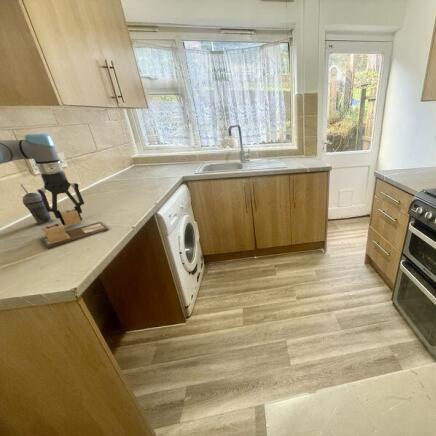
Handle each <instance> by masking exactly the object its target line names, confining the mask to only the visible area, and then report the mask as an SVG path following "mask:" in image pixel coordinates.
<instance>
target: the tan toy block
mask: <svg viewBox="0 0 436 436" xmlns="http://www.w3.org/2000/svg"><path fill="white" fill-rule="evenodd" d="M41 228H42V230H43V232H44V235H45V237H47V238H48V240H49V241H50V243H52V242H56V241H59V240H62V239H66V238H68V236H67V234H66V231H67V230H65V227H64V225H63V224H62V223H61V222H55V223H52V224H48V225H45V226H42V227H41Z"/></svg>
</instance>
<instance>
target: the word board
mask: <svg viewBox="0 0 436 436" xmlns="http://www.w3.org/2000/svg"><path fill="white" fill-rule="evenodd" d="M65 231H66V234H67V236H68V238H66V239H62V240H59V241H56V242H52V243H50V241H49V240H48V238H47V236H45V237H42V241H43V243H44V244H45V246H46V247H47V249H48V250H51V249H55V248H57V247H60V246H63V245H66V244H69V243H73V242H76V241H79V240H82V239H85V238H87V237H91V236H94V235H97V234H100V233H104V232H108V231H109V229H108V227H107V226H105V225H104V224H103V223H102V222H100V221H98V222H95V223H91V224H87V225H84V226H80V227H77V228H73V229H70V230H65Z"/></svg>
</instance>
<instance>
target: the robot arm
mask: <svg viewBox="0 0 436 436" xmlns="http://www.w3.org/2000/svg"><path fill="white" fill-rule="evenodd" d="M19 160H20V161H21V160H23V161H24V160H33V161H34V163H35V165H36V167H37V169H38V172H39V173H40V177H41V179H42V182H43V184H44V185H43V187H41V188H37V189H36V192H37V193H38V194H40V195H41V197H42V200H43V202H44V205H45V208H46V210H47V211H48V212H49V213H53V215H54V217H55V218H56V219H59V221H60V223H61V224H62V225H63V226H66V225H65V223H64V220H63V218H62V216H61V213H60V212H61V211H60V210H59V209H58V195H60V194H65V195H66V196H67V197H68V198H69V200H70V201H71V202H72V203H73V204H74V206H73V209H75V210H76V211H77V212H78V214H79V217H80V220H81V222H82V221H83V217H82V216H81V214H82V213H83V210H82V207H81V206H82V205H85V201H84V199H83V196H82V194H81V192H80V189H79V183H77V182H70V181H69V180H68V177H67V175H66V173H65V171H64V168H63V165H62V162H61V159H60V157H59V154H58V151H57V149H56V146H55V143H54V141H53V139H52V137H51V136H50V135H49V134H47V133H28V134H24V139H15V140H14V139H9V140H7V139H6V140H2V139H0V165H2V164H6V163H9V162H14V161H19ZM70 188H72V189H73V190H74V193H75V195H76V198H77V199H78V201H77V200H76V199H75V197H74V196H73V195H72V194H71V192H70V191H69V190H70ZM46 191H48V192H50V193H51V206H50V203H49V201H48V198H47V195H46Z"/></svg>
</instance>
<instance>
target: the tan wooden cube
mask: <svg viewBox="0 0 436 436" xmlns="http://www.w3.org/2000/svg"><path fill="white" fill-rule="evenodd" d="M60 213H61V216H62V218H63V220H64V223H65V225H64V226H66V227H69V226H72V225H73V226H74V225H76V224H80V223H82V221H81V220H80V217H79V214H78V212H77V211H76V210H75V208H71V209H66V210H62V211H60Z"/></svg>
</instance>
